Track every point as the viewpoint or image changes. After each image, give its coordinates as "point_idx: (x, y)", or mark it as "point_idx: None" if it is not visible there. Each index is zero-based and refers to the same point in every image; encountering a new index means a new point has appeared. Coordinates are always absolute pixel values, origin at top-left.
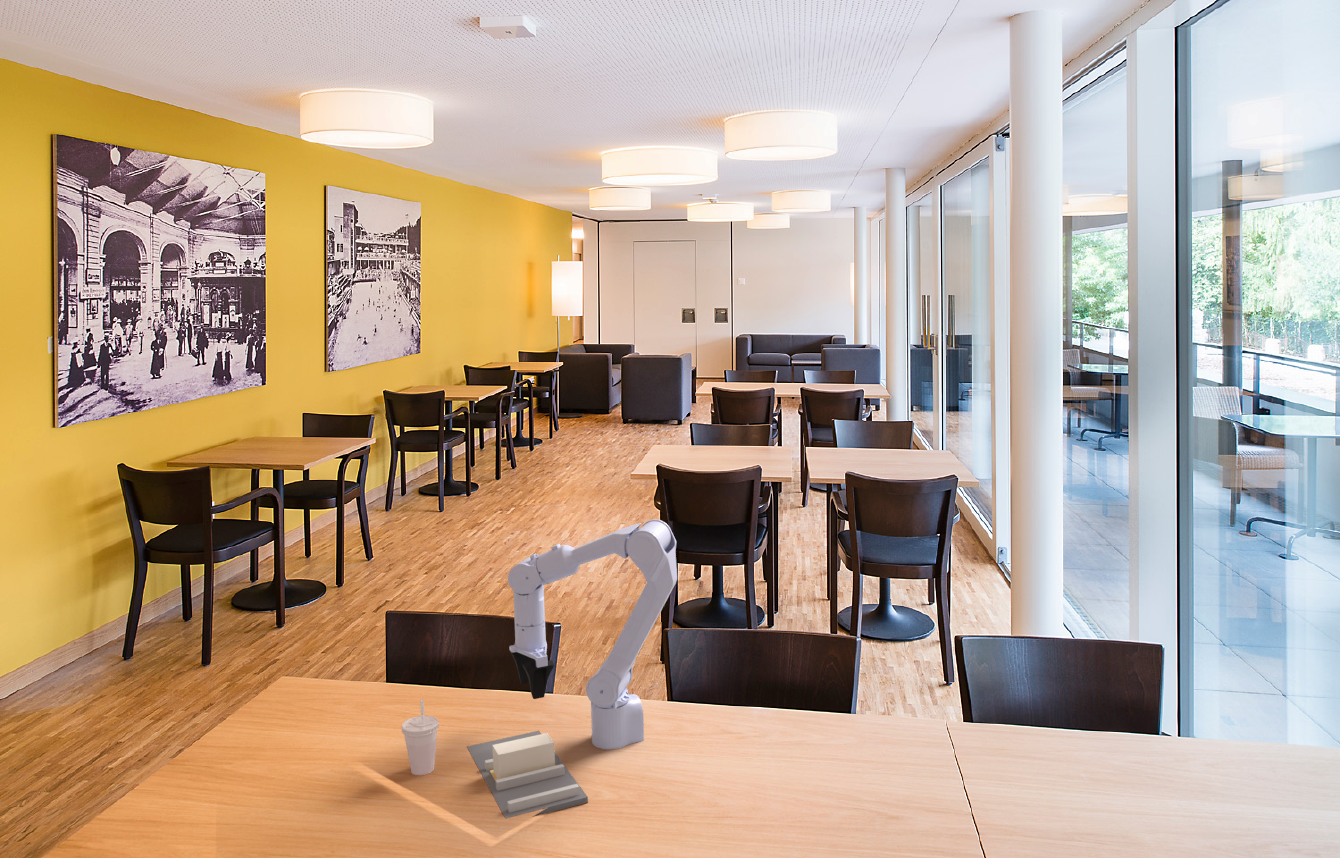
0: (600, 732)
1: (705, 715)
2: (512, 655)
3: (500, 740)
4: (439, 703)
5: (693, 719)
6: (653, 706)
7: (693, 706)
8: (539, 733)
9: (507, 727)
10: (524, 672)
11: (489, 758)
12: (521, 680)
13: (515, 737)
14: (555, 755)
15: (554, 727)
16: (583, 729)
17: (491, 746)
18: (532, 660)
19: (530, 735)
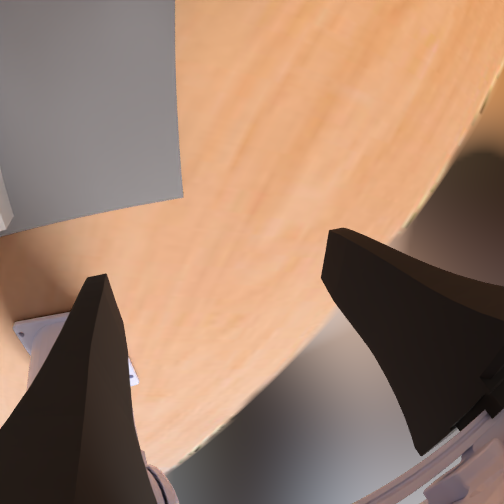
0: (32, 371)
1: (165, 444)
2: (502, 289)
3: (162, 54)
4: (466, 21)
5: (157, 436)
6: (226, 403)
7: (201, 435)
8: (160, 196)
9: (284, 105)
10: (368, 285)
11: (39, 10)
12: (343, 240)
13: (162, 111)
14: (1, 231)
15: (216, 239)
16: (174, 305)
17: (129, 17)
18: (394, 369)
19: (156, 165)
